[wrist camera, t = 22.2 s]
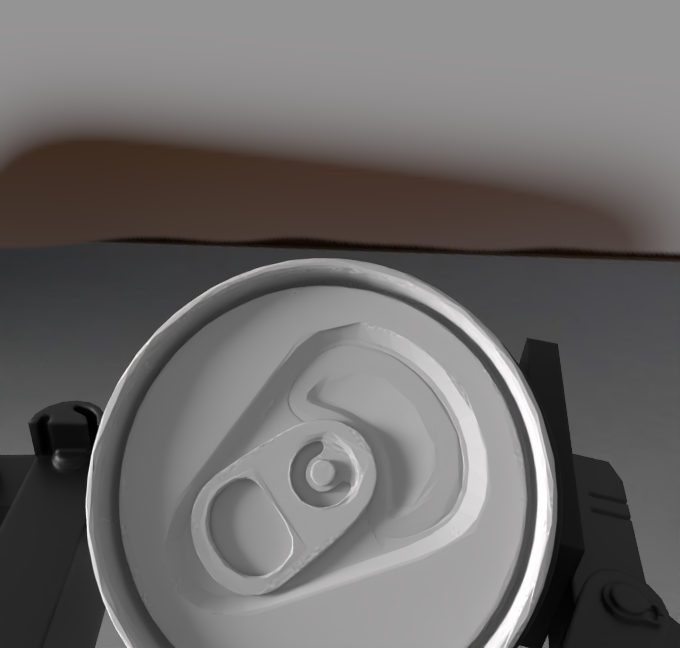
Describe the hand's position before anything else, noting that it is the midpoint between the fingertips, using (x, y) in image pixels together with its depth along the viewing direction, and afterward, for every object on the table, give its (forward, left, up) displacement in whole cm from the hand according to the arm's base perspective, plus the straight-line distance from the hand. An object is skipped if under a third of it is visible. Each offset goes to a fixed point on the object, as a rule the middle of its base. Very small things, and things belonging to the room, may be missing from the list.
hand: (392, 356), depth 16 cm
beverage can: (+2, -3, -4) cm, 5 cm away
